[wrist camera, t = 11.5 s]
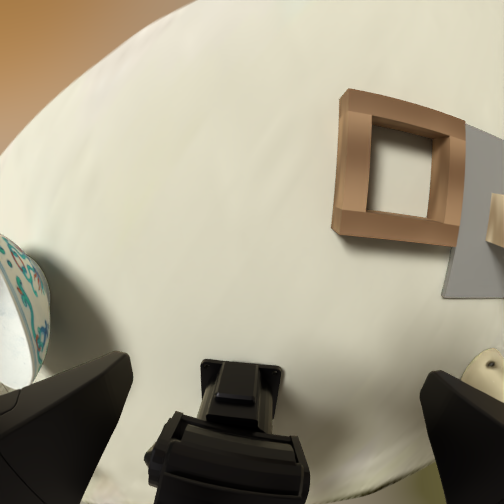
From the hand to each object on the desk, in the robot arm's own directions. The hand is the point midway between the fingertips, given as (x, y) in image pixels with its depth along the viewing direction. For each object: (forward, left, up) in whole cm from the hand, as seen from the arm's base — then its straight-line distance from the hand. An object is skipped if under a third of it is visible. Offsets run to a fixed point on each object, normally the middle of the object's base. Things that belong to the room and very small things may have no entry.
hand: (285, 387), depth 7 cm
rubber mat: (+5, -19, -13) cm, 24 cm away
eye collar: (+7, -8, -13) cm, 17 cm away
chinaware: (-5, +24, -13) cm, 28 cm away
